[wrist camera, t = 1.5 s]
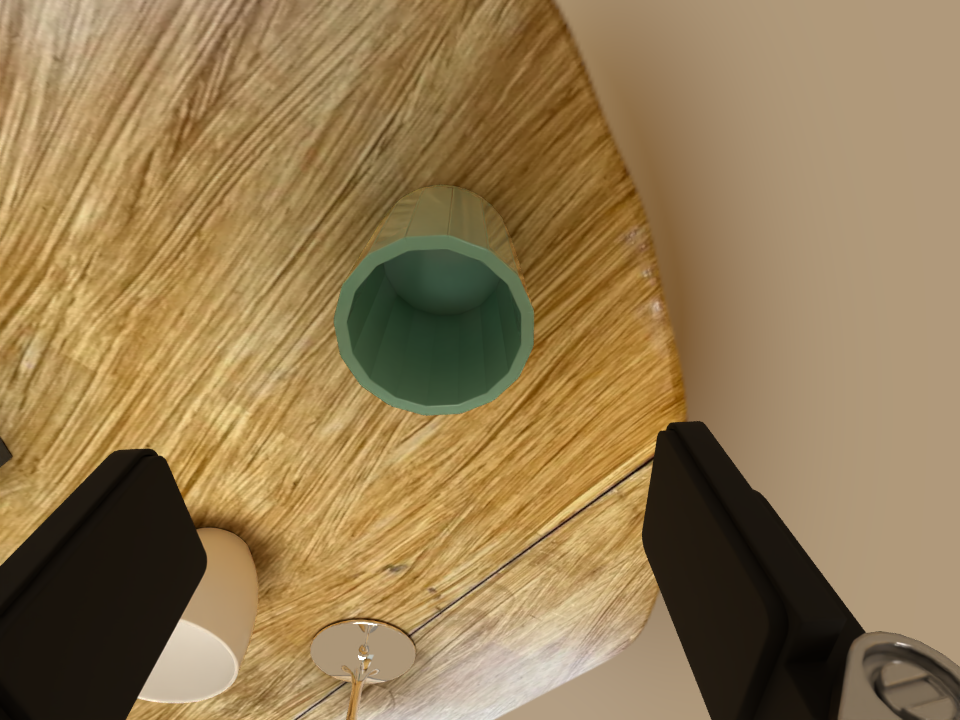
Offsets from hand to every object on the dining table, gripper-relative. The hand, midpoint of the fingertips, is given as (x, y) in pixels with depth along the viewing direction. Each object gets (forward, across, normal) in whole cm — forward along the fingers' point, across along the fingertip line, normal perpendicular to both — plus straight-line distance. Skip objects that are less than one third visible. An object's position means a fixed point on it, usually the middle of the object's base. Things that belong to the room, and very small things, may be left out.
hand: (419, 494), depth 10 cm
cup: (+15, +16, +16) cm, 27 cm away
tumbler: (+14, 0, -1) cm, 14 cm away
